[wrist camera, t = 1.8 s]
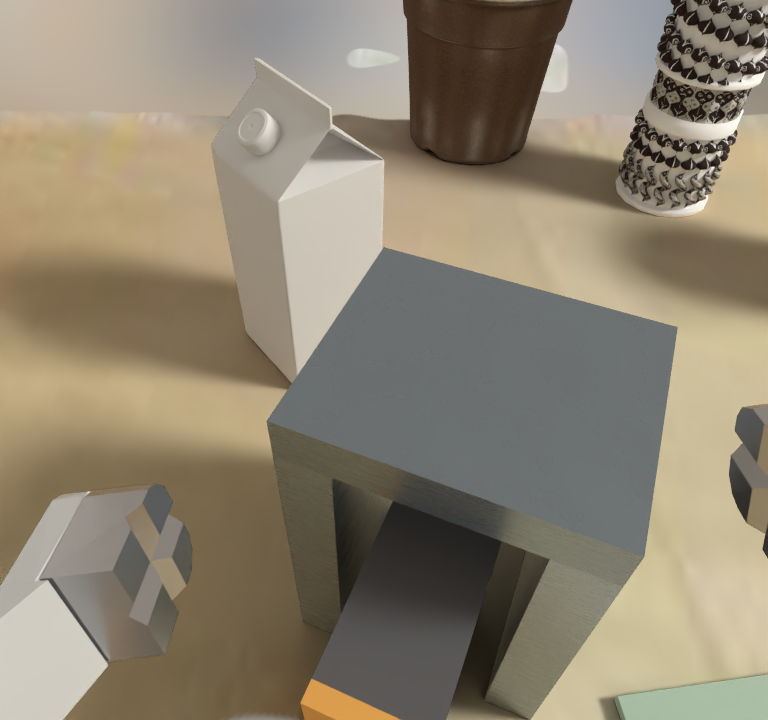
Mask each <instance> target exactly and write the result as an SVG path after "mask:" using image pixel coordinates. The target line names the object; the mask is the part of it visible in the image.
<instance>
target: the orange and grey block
mask: <svg viewBox="0 0 768 720" xmlns="http://www.w3.org/2000/svg"><path fill="white" fill-rule="evenodd" d="M500 545H501V541H499V540H497V539H494V538H491V537H489V536H486V535H483V534H481V533H478V532H475V531H472V530H470V529H467V528H464V527H462V526H459V525H456V524H454V523H451V522H448V521H446V520H443V519H440V518H438V517H435V516H432V515H430V514H427V513H424V512H422V511H419V510H416V509H413V508H411V507H408V506H405V505H403V504H400V503H397V502H395V501H393V502H392V504H391V506H390V508H389V510H388V512H387V515H386V517H385V519H384V521H383V523H382V526H381V528H380V530H379V532H378V534H377V537H376V539H375V541H374V543H373V545H372V547H371V550H370V552H369V554H368V556H367V558H366V561H365V563H364V565H363V567H362V569H361V572H360V574H359V576H358V578H357V580H356V582H355V585H354V587H353V589H352V591H351V593H350V596H349V598H348V600H347V602H346V604H345V607H344V609H343V611H342V613H341V615H340V617H339V620H338V622H337V624H336V626H335V628H334V631H333V633H332V635H331V637H330V639H329V642H328V644H327V646H326V648H325V650H324V652H323V655H322V657H321V659H320V661H319V663H318V666H317V668H316V670H315V672H314V674H313V677H312V679H311V681H310V683H309V685H308V687H307V690H306V692H305V694H304V696H303V698H302V701H301V703H300V704H301V708H302V711H303V715H304V719H305V720H446V718H447V715H448V712H449V708H450V705H451V702H452V699H453V696H454V692H455V689H456V686H457V683H458V680H459V676H460V673H461V670H462V667H463V664H464V660H465V657H466V654H467V651H468V647H469V644H470V641H471V638H472V635H473V631H474V628H475V625H476V622H477V619H478V615H479V612H480V609H481V606H482V602H483V599H484V596H485V593H486V590H487V586H488V583H489V580H490V577H491V574H492V570H493V567H494V564H495V561H496V558H497V554H498V551H499V548H500Z"/></svg>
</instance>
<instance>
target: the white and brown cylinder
mask: <svg viewBox="0 0 768 720" xmlns="http://www.w3.org/2000/svg"><path fill="white" fill-rule="evenodd" d="M671 3H672V4H673V5H674V8H673V10H674V11H673V13H672V14H670V15H668V16H667V18H666V25H665V26H664V32H665V34H663V35H662V36H661V42H659V44H658V46H657V48H658V51H659V53H658V54H657V55H656V58H655V60H656V63H657V67H658V68H659V70H658V73H657V74H656V76H655V79H654V83H653V88H652V89H651V90H650V91H649V93H648V94H647V97H646V100H645V103H644V106H643V109H641V110H640V111H639V112H638V115H637V116H636V117H635V122H636V123H637V124H638V125H636V126H635V127H634V128H633V132H631V134H630V138H631V139H632V140H633V141H631V142H630V143H629V144H628V146H627V148H626V149H625V151H624V154H623V156H624V160H623V161H622V164H621V165H620V166H619V174H620V175H619V176H618V178H617V179H616V182H615V185H616V191H617V193H618V194H619V195H620V197H621V198H622V199H623V200H624V201H625V202H626V203H628V204H629V205H631V206H633V207H635V208H636V209H638V210H640V211H643V212H646V213H649V214H652V215H655V216H662V217H671V218H679V217H686V216H692V215H694V214H696V213H698V212H700V211H702V210H703V208H704V206H705V204H706V202H707V200H708V196H707V194H711V193H712V192H713V189H712V188H711V186H714V185H715V181H714V180H716V179H718V178H719V177H720V174H719V172H718V171H721V170H722V165H721V162H723V161H725V160H727V158H728V153H729V151H730V148H729V146H730V145H733V144H734V143H735V141H736V136H737V130H736V127H737V125H738V123H739V121H740V119H741V116H742V114H743V112H744V111H743V107H744V104H745V102H746V100H747V98H748V95H749V93H750V91H751V89H752V87H754V86H757V85H759V84H760V82H761V80H762V78H763V76H764V74H765V71H766V70H768V57H767V55H765V53H766V51H767V49H768V0H682V2H681V0H671ZM668 41H669V42H668Z"/></svg>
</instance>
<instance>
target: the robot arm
mask: <svg viewBox="0 0 768 720" xmlns="http://www.w3.org/2000/svg"><path fill="white" fill-rule="evenodd" d="M735 432H736V433H737V435H738V436H739V438H740V439H741V441H742V442H743V444H742V445H741V446H740V447H739V448H738V449H737V450H736V451H735V452H734V453H733V454H732V455H731V460H730V470H729V477H730V483H731V489H732V494H733V497H734V499H735V502H736V504H737V507H738V509H739V511H740V513H741V514H742V516H743V518H744V519H745V521H746V523H747V524H749V525H751V526H753V527H754V528H756V529H758V530H759V531H761V532H763V533H765V539H764V544H763V551H764V553H765V554H766V556H767V558H768V404H761V405H754V406H747V407H742V409H741V410H740V412H739V414H738V415H737V420H736V426H735ZM172 503H173V501H172V499H171V498H170V496H169V494H168V492H167V491H166V489H165V487H164V486H162V485H158V484H148V485H138V486H129V487H119V488H110V489H101V490H93V491H89V492H79V493H69V494H62V495H60V496H59V497H57V498H55V499H54V500H52V502H51V503H50V505H49V507H48V508H47V510H46V512H45V513H44V515H43V517H42V518H41V520H40V522H39V523H38V525H37V527H36V528H35V530H34V531H33V533H32V535H31V536H30V538H29V540H28V541H27V543H26V545H25V546H24V548H23V550H22V551H21V553H20V555H19V556H18V558H17V560H16V561H15V563H14V565H13V566H12V568H11V570H10V571H9V573H8V575H7V576H6V578H5V579H4V581H3V583H2V584H1V585H0V720H63V719H64V718H65V717H66V715H67V714H68V713H69V712H70V711H71V709H72V708H73V707H74V706H75V705H76V703H77V702H78V701H79V700H80V699H81V698H82V696H83V695H84V694H85V693H86V692H87V690H88V689H89V688H90V687H91V686H92V684H93V683H94V682H95V681H96V680H97V678H98V677H99V676H100V675H101V674H102V672H103V671H104V670H105V669H106V668H107V667H108V663H107V662H113V661H120V660H128V659H136V658H143V657H151V656H159V655H165V653H166V650H167V647H168V644H169V641H170V638H171V635H172V631H173V628H174V625H175V622H176V619H177V616H178V611H177V609H176V607H175V605H174V602H173V599H174V598H175V597H176V596H177V595H178V594H179V593H180V592H181V591H182V590H183V589H184V588H185V587H186V586H187V583H188V580H189V577H190V573H191V570H192V545H191V541H190V537H189V533H188V531H187V529H186V527H185V525H184V523H183V522H181V521H180V520H178V519H176V518H175V517H173V516H171V515H170V514H169V511H170V508H171V506H172Z"/></svg>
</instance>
